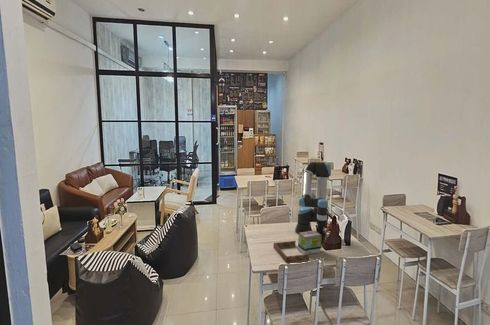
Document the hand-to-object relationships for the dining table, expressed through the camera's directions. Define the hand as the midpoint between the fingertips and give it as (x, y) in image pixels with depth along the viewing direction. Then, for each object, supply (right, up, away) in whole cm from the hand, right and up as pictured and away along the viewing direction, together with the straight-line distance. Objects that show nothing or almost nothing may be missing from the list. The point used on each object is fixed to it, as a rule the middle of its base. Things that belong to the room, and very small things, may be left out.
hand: (319, 247), depth 227 cm
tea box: (-9, -2, -2) cm, 10 cm away
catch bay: (-24, -2, -6) cm, 25 cm away
